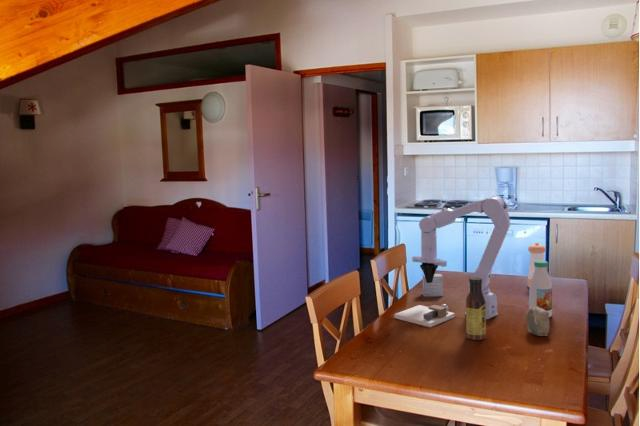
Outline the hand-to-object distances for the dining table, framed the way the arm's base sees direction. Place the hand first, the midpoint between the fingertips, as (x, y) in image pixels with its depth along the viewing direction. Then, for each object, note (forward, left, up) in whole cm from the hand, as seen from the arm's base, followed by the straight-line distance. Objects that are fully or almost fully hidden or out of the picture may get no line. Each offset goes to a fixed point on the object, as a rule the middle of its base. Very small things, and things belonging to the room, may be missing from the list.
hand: (429, 282), depth 215 cm
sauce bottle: (-30, +16, -11) cm, 36 cm away
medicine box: (+10, -16, -11) cm, 22 cm away
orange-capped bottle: (-16, -55, -11) cm, 58 cm away
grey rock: (-43, -1, -11) cm, 44 cm away
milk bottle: (-35, -19, -11) cm, 41 cm away
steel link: (-10, +10, -9) cm, 16 cm away
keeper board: (-5, +10, -10) cm, 15 cm away
